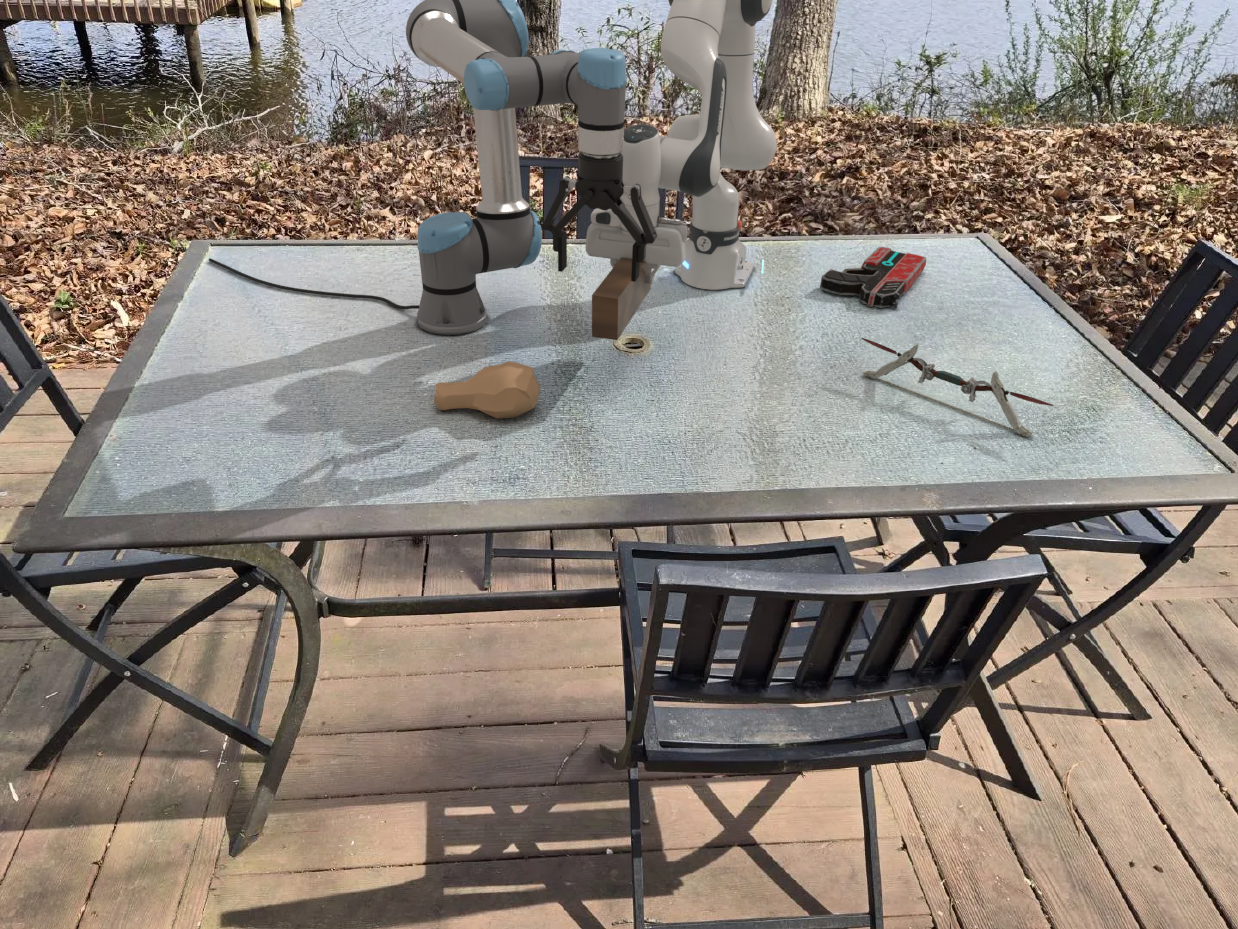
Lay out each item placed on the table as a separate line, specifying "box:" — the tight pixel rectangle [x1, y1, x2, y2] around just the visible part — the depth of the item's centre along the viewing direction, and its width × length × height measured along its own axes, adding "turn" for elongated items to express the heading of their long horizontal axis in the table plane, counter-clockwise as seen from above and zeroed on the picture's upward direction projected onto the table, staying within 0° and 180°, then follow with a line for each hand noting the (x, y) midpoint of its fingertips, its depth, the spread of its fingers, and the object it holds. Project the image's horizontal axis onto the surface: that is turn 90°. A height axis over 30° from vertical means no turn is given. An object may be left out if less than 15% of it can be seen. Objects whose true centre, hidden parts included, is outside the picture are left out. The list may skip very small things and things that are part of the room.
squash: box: [433, 360, 542, 419], centre depth 163 cm, size 11×20×9 cm, turn 90°
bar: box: [591, 258, 653, 341], centre depth 172 cm, size 25×5×8 cm, turn 164°
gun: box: [819, 246, 927, 309], centre depth 221 cm, size 4×31×19 cm
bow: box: [861, 337, 1055, 437], centre depth 168 cm, size 39×2×10 cm, turn 47°
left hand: (598, 273), depth 157 cm, fingers open, 13 cm apart
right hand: (634, 280), depth 180 cm, fingers closed on bar, 5 cm apart
